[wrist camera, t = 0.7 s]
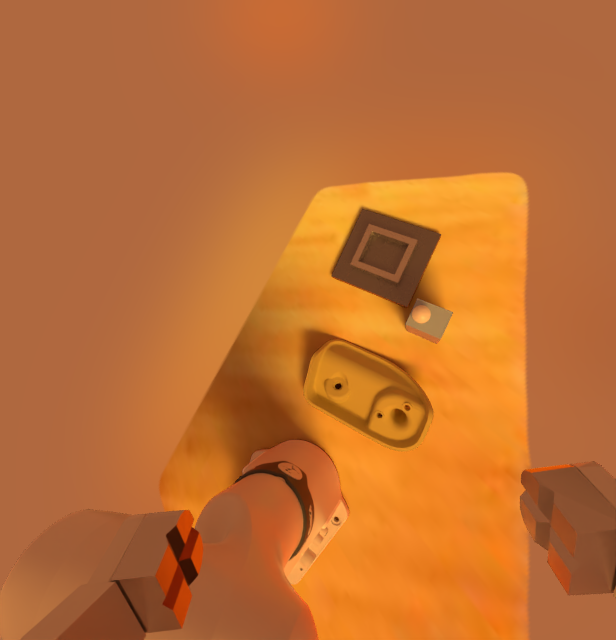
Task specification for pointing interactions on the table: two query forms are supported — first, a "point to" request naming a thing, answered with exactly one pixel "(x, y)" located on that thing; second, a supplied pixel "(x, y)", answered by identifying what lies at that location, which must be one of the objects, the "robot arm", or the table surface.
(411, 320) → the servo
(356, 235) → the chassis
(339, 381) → the plastic component
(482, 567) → the table surface
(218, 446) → the table surface
